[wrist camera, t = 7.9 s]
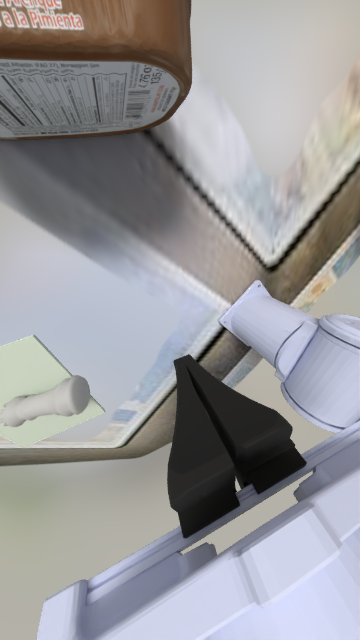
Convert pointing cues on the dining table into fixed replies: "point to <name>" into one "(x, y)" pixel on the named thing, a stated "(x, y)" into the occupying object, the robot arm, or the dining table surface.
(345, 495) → the robot arm
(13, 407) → the rook chess piece
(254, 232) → the dining table surface
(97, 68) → the tin
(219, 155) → the dining table surface
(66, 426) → the mat
